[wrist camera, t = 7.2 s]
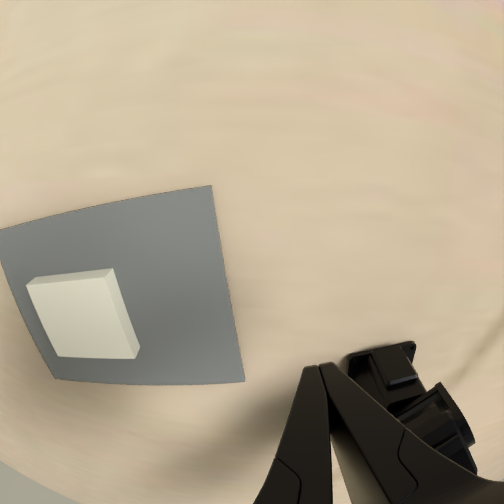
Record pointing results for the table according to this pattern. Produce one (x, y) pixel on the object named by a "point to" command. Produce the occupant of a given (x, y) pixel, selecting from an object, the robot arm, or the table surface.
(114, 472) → the table surface
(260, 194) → the table surface
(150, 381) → the mat
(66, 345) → the tile
